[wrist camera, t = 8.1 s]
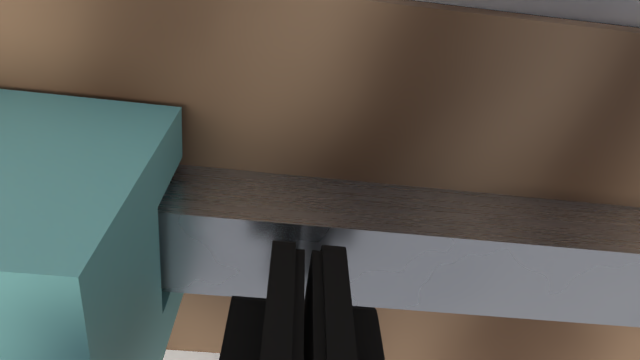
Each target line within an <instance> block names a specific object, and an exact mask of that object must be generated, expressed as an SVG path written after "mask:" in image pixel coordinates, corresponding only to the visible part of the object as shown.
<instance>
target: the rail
mask: <svg viewBox="0 0 640 360" xmlns="http://www.w3.org/2000/svg"><path fill="white" fill-rule="evenodd" d="M158 226H159V247H160V269H161V290H162V292H175V293H189V294H202V295H215V296H229V297H232V296H243V297H255V298H266V297H267V287H268V278H269V269H270V259H271V250H272V241H273V240H278V241H289V242H296V249H305V290H304V299H305V293H306V286H307V279H308V272H309V266H310V259H311V253H312V250H317V251H320V250H321V246H322V245H332V246H342V247H346V251H347V260H348V270H349V279H350V289H351V298H352V306H362V307H375V308H388V309H401V310H415V311H428V312H441V313H454V314H468V315H481V316H494V317H508V318H521V319H534V320H547V321H561V322H574V323H587V324H601V325H614V326H627V327H640V207H630V206H620V205H609V204H598V203H588V202H577V201H566V200H555V199H545V198H534V197H523V196H512V195H502V194H491V193H480V192H470V191H459V190H448V189H437V188H427V187H416V186H405V185H395V184H384V183H373V182H362V181H352V180H341V179H330V178H319V177H309V176H298V175H287V174H277V173H266V172H255V171H244V170H234V169H223V168H212V167H202V166H191V165H180V164H179V165H178V167H177V169H176V171H175V173H174V175H173V177H172V179H171V181H170V183H169V185H168V187H167V190H166V192H165V194H164V196H163V198H162V200H161V202H160V204H159V206H158Z"/></svg>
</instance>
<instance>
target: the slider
mask: <svg viewBox="0 0 640 360" xmlns="http://www.w3.org/2000/svg"><path fill="white" fill-rule="evenodd" d="M181 159H182V107H175V106H165V105H155V104H146V103H136V102H126V101H116V100H106V99H96V98H86V97H76V96H67V95H57V94H47V93H37V92H27V91H17V90H7V89H0V360H163V357H164V354H165V351H166V347H167V344H168V341H169V338H170V335H171V332H172V328H173V325H174V322H175V319H176V316H177V313H178V310H179V306H180V303H181V300H182V297H183V294H184V293H175V292H162V290H161V269H160V247H159V226H158V206H159V204H160V202H161V200H162V198H163V196H164V194H165V192H166V190H167V187H168V185H169V183H170V181H171V179H172V177H173V175H174V173H175V171H176V169H177V167H178V165H179V163H180V161H181Z"/></svg>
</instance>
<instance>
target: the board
mask: <svg viewBox="0 0 640 360" xmlns="http://www.w3.org/2000/svg"><path fill="white" fill-rule="evenodd" d="M0 89H7V90H17V91H27V92H37V93H47V94H57V95H67V96H76V97H86V98H96V99H106V100H116V101H126V102H136V103H146V104H155V105H165V106H175V107H182V159H181V161H180V163H179V164H180V165H191V166H202V167H212V168H223V169H234V170H244V171H255V172H266V173H277V174H287V175H298V176H309V177H319V178H330V179H341V180H352V181H362V182H373V183H384V184H395V185H405V186H416V187H427V188H437V189H448V190H459V191H470V192H480V193H491V194H502V195H512V196H523V197H534V198H545V199H555V200H566V201H577V202H588V203H598V204H609V205H620V206H630V207H640V28H636V27H628V26H620V25H611V24H603V23H595V22H586V21H578V20H570V19H561V18H553V17H545V16H536V15H528V14H520V13H512V12H503V11H495V10H487V9H478V8H470V7H462V6H453V5H445V4H437V3H428V2H420V1H412V0H0ZM231 298H232V297H229V296H215V295H202V294H189V293H184V294H183V297H182V300H181V303H180V306H179V310H178V313H177V316H176V319H175V322H174V325H173V328H172V332H171V335H170V338H169V341H168V344H167V347H166V349H168V350H183V351H197V352H212V353H221V348H222V343H223V338H224V332H225V327H226V322H227V317H228V312H229V307H230V302H231ZM374 308H375V307H374ZM375 309H376V310H377V314H378V319H379V326H380V332H381V338H382V344H383V350H384V356H385V360H640V327H627V326H614V325H601V324H587V323H574V322H561V321H547V320H534V319H521V318H508V317H494V316H481V315H468V314H454V313H441V312H428V311H415V310H401V309H388V308H375Z"/></svg>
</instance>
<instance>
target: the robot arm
mask: <svg viewBox="0 0 640 360" xmlns="http://www.w3.org/2000/svg"><path fill="white" fill-rule="evenodd" d="M304 290H305V249H296V242H289V241H278V240H273V241H272V250H271V259H270V269H269V278H268V287H267V297H266V298H255V297H243V296H232V298H231V302H230V307H229V312H228V317H227V322H226V327H225V332H224V338H223V343H222V348H221V353H220V358H219V360H385V356H384V350H383V344H382V338H381V332H380V326H379V319H378V314H377V310H376V309H375V308H374V307H362V306H352V298H351V289H350V279H349V270H348V260H347V251H346V247H342V246H332V245H322V246H321V250H320V251H317V250H312V253H311V259H310V266H309V272H308V279H307V286H306V293H305V299H304Z"/></svg>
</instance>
